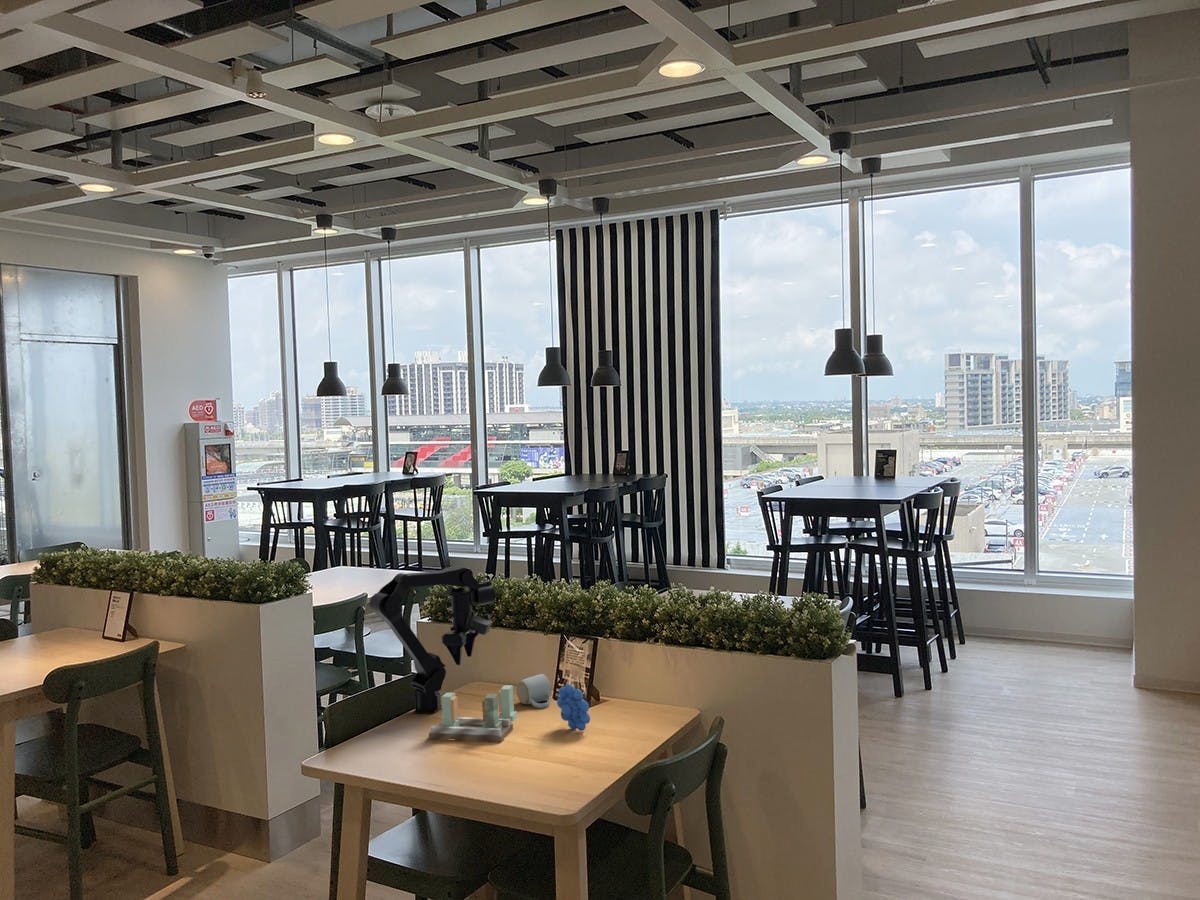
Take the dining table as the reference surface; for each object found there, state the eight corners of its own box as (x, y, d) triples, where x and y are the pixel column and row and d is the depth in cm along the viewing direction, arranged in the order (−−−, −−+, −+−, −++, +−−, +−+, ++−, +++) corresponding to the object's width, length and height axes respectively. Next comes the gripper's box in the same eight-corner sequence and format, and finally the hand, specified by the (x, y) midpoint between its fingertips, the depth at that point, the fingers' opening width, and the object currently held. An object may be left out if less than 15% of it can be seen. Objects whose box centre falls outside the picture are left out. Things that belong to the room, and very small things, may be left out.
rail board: (428, 739, 255) (426, 699, 254) (443, 726, 264) (441, 688, 264) (501, 742, 250) (499, 702, 250) (513, 729, 260) (511, 690, 259)
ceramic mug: (515, 702, 284) (514, 676, 283) (539, 696, 288) (538, 671, 288) (533, 711, 275) (532, 685, 275) (557, 705, 280) (557, 679, 279)
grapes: (547, 729, 259) (545, 685, 258) (565, 722, 264) (563, 679, 263) (578, 738, 251) (576, 692, 250) (596, 731, 256) (594, 686, 255)
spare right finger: (498, 721, 267) (497, 689, 267) (503, 716, 271) (502, 684, 271) (512, 721, 266) (511, 689, 266) (517, 717, 270) (515, 685, 270)
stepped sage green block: (440, 730, 257) (438, 696, 257) (445, 725, 261) (444, 692, 261) (454, 730, 256) (452, 697, 256) (459, 725, 260) (458, 692, 260)
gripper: (476, 615, 275) (479, 670, 276) (497, 602, 293) (500, 653, 294) (440, 615, 277) (442, 669, 278) (463, 601, 296) (465, 652, 296)
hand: (464, 660), depth 287 cm, fingers open, 9 cm apart
